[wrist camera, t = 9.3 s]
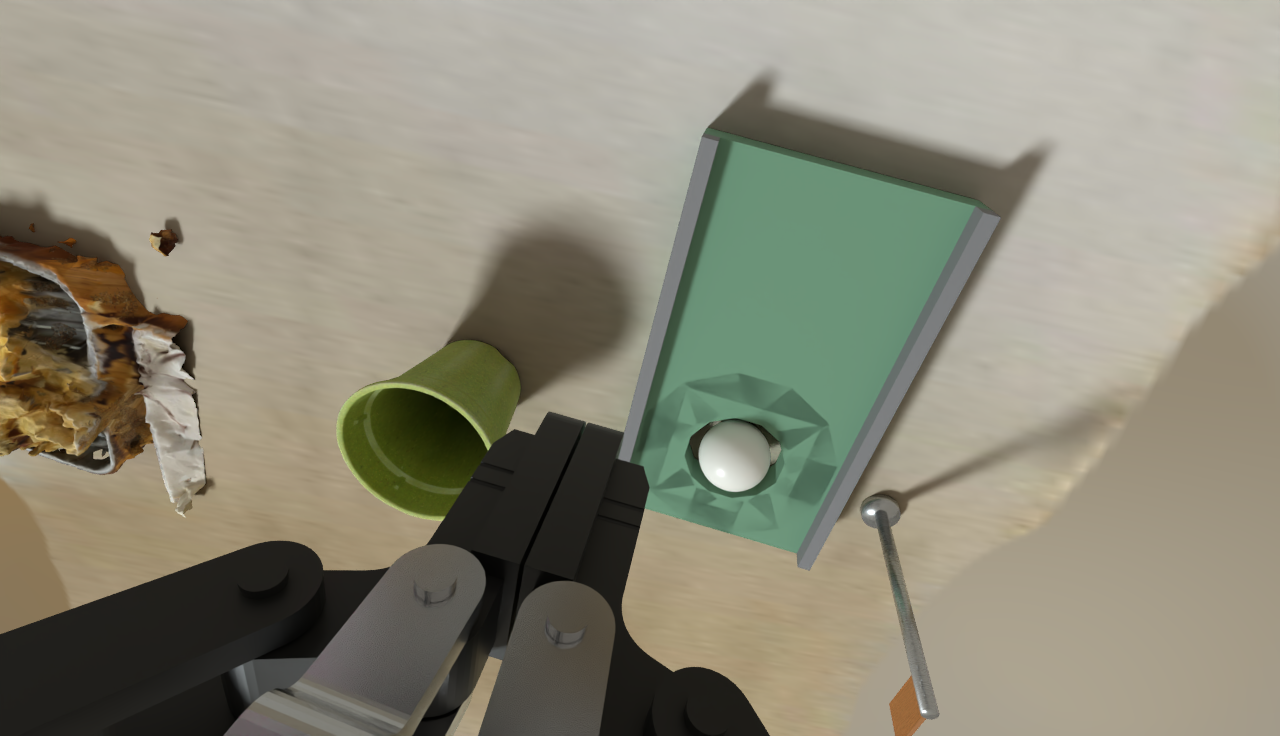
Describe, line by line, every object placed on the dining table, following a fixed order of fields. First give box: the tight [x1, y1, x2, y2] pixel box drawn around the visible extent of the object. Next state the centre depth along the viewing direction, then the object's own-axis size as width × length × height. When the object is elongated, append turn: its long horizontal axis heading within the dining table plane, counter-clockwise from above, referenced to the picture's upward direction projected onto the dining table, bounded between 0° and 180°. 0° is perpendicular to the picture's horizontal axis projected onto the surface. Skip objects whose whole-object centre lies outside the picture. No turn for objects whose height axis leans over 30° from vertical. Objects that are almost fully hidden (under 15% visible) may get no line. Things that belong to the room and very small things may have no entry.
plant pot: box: [336, 340, 521, 521], centre depth 37 cm, size 9×9×9 cm
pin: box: [860, 495, 939, 736], centre depth 35 cm, size 4×2×14 cm, turn 167°
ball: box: [699, 420, 771, 492], centre depth 37 cm, size 4×4×4 cm
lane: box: [618, 128, 1001, 571], centre depth 35 cm, size 24×14×3 cm, turn 167°
